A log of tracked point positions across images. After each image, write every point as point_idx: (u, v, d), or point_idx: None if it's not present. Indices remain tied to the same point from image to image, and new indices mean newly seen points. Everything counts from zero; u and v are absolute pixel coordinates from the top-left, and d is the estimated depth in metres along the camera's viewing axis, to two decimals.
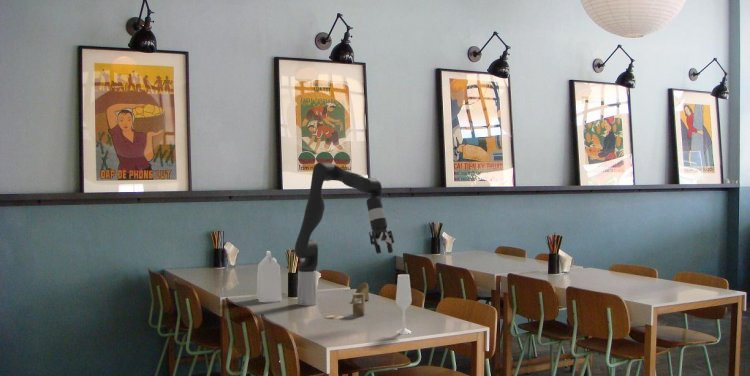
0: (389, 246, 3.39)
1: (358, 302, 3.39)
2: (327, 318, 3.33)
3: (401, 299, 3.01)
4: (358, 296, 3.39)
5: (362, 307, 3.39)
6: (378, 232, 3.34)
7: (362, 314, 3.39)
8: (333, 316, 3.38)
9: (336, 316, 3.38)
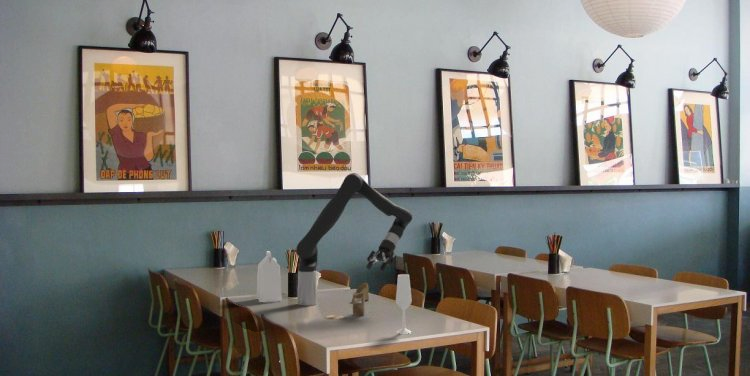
0: (371, 264, 3.54)
1: (358, 302, 3.39)
2: (327, 318, 3.33)
3: (401, 299, 3.01)
4: (358, 296, 3.39)
5: (362, 307, 3.39)
6: None
7: (362, 314, 3.39)
8: (333, 316, 3.38)
9: (336, 316, 3.38)
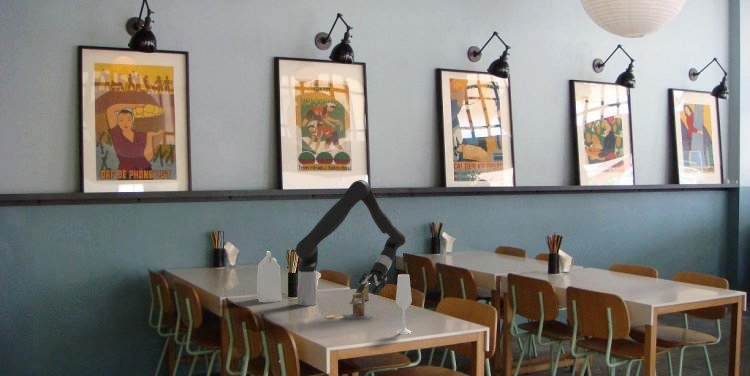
0: (363, 287, 3.50)
1: (358, 302, 3.39)
2: (327, 318, 3.33)
3: (401, 299, 3.01)
4: (358, 296, 3.39)
5: (362, 307, 3.39)
6: None
7: (362, 314, 3.39)
8: (333, 316, 3.38)
9: (336, 316, 3.38)
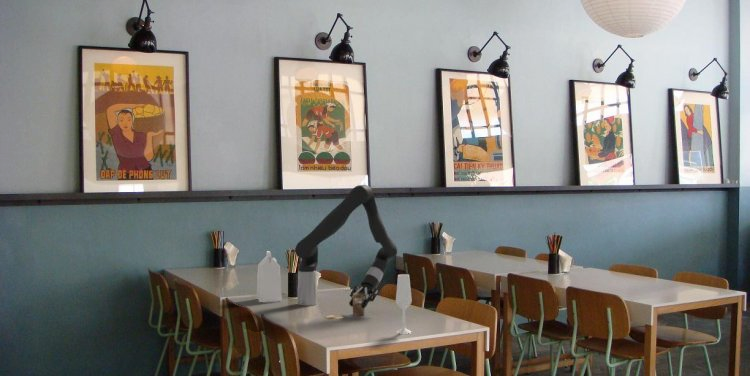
0: None
1: (358, 302, 3.39)
2: (327, 318, 3.33)
3: (401, 299, 3.01)
4: (358, 296, 3.39)
5: None
6: None
7: (362, 314, 3.39)
8: (333, 316, 3.38)
9: (336, 316, 3.38)
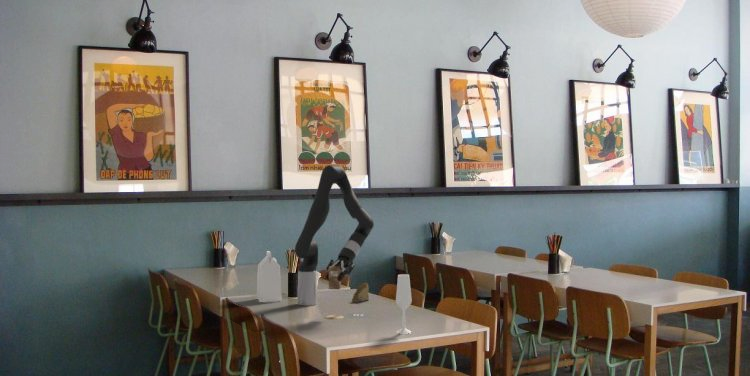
0: None
1: (334, 275, 3.34)
2: (327, 318, 3.33)
3: (401, 299, 3.01)
4: (334, 269, 3.34)
5: None
6: None
7: (338, 287, 3.34)
8: (333, 316, 3.38)
9: (336, 316, 3.38)
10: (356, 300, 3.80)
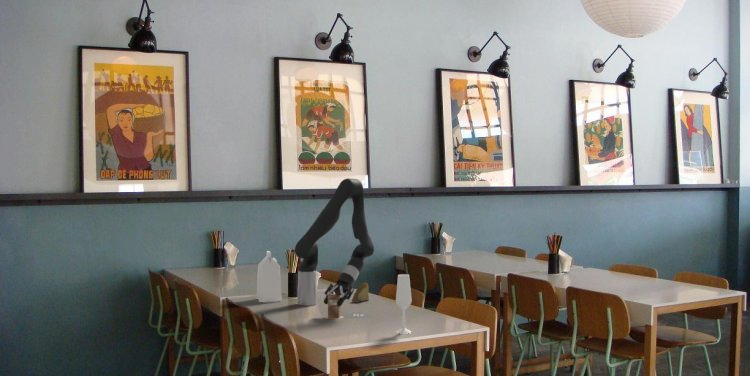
0: None
1: (333, 304, 3.34)
2: (327, 318, 3.33)
3: (401, 299, 3.01)
4: (333, 298, 3.34)
5: (337, 309, 3.34)
6: None
7: (337, 316, 3.34)
8: None
9: None
10: (356, 300, 3.80)
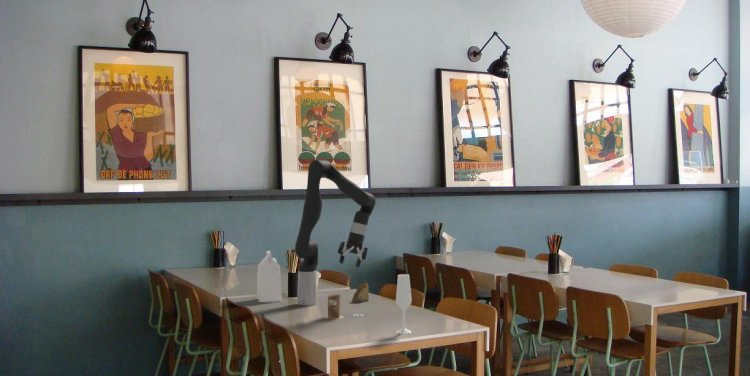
0: (358, 261, 3.53)
1: (333, 304, 3.34)
2: (327, 318, 3.33)
3: (401, 299, 3.01)
4: (333, 298, 3.34)
5: (337, 309, 3.34)
6: (349, 245, 3.50)
7: (337, 316, 3.34)
8: None
9: None
10: (356, 300, 3.80)
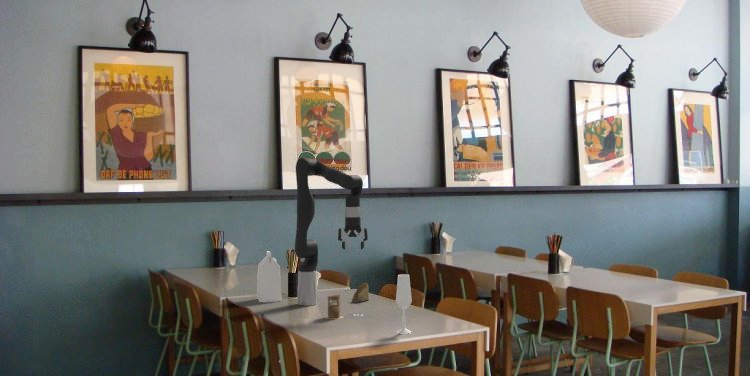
0: None
1: (333, 304, 3.34)
2: (327, 318, 3.33)
3: (401, 299, 3.01)
4: (333, 298, 3.34)
5: (337, 309, 3.34)
6: (346, 230, 3.53)
7: (337, 316, 3.34)
8: None
9: None
10: (356, 300, 3.80)
